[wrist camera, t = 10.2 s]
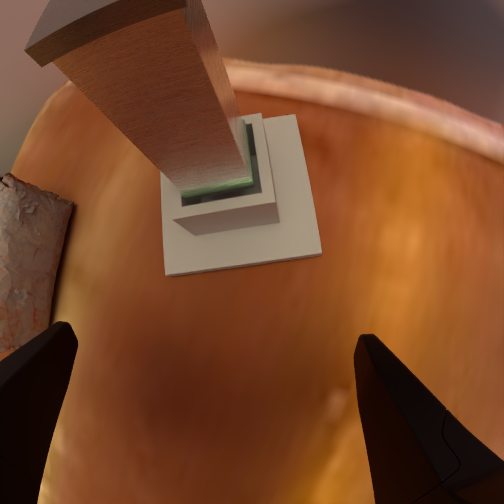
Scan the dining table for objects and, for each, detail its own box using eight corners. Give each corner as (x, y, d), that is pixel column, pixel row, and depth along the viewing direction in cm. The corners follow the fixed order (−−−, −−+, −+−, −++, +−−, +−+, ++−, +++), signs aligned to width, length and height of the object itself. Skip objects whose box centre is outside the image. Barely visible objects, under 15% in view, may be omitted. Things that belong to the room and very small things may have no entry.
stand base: (321, 255, 20) (329, 235, 15) (171, 276, 21) (129, 265, 16) (295, 121, 22) (292, 70, 16) (165, 146, 23) (132, 106, 18)
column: (258, 190, 16) (175, -21, 4) (185, 203, 17) (24, 50, 5) (249, 128, 17) (182, -72, 5) (182, 141, 18) (65, -24, 6)
